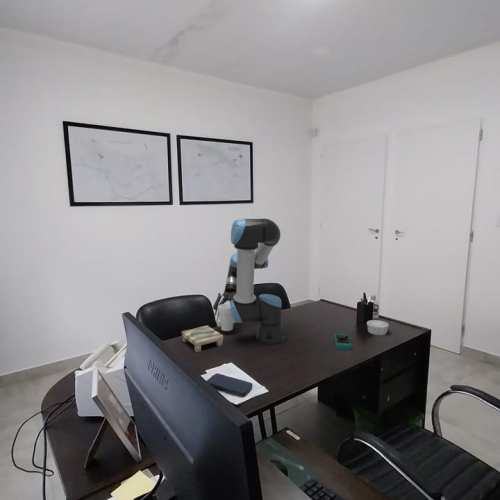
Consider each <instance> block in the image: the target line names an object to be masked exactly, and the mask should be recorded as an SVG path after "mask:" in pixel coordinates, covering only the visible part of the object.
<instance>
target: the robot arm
mask: <svg viewBox="0 0 500 500" xmlns="http://www.w3.org/2000/svg"><path fill="white" fill-rule="evenodd" d="M280 239H281V230H280V228H279V226H278V225H277V223H276V222H275V221H273V220H271V219H268V218H241V219H238V218H237V219H235V220H234V221H233V223H232V226H231V230H230V243H231V244H232V245H233V246H234V249H235V250H237V252H236V253H233V254H232V256H231V257H230V260H229V265H228V270H227V271H228V272H227V277H226V282H225V286H224V291H223V293H220V292H219V293H217V298H216V300H215V302H214V304H213V306H212V308H213V311H215V312H214V315H215V318H214V320H215V323H218V321H219V319H220V318H219V312H218V306H219V305H221V304H226V303H227V302H229V304H230V307H231V313H232V317H233V324H236V323H237V324H238V323H249V322H250V323H251V322H258V323H259V325H258V328H257V331H256V334H255V337H256V338H255V339H256V341H257V342H258V343H261V344H265V345H266V344H267V345H275V344H281V343H283V342H284V341H285V339H286V336H285V335H286V334H285V331H284V328H283V326H282V299H281V298H280V297H279V296H277V295H275V294H268V293H264V294H263V293H262V294H260V295H259V296H258V297H257V296H256V295H255V294H254V292H255V291H254V287H255V270H257V269H259V270H260V269H261V270H262V269H266V268H268V266H269V256H270V253H271V252H272V251H273V249H274V247H275V246H277V245H278V243H279V241H280Z"/></svg>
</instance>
